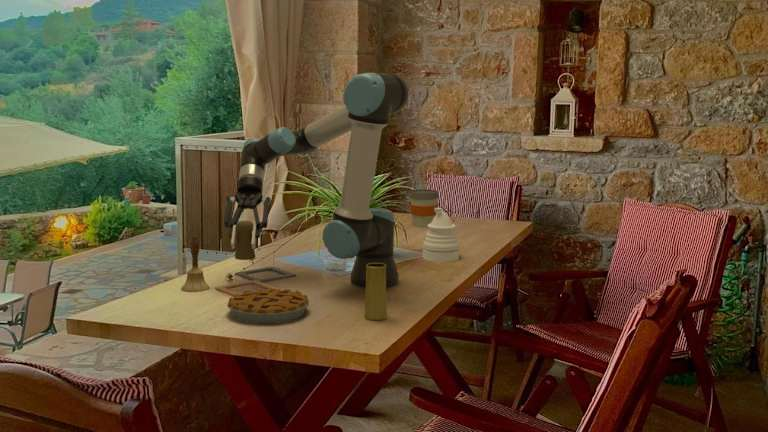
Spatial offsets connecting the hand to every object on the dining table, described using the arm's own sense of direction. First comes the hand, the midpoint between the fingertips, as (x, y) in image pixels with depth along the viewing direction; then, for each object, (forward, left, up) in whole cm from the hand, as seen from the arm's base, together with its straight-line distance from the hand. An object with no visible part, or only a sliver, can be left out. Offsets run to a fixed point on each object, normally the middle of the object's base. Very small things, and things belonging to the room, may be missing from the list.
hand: (242, 246), depth 234 cm
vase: (-43, -15, -14) cm, 47 cm away
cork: (+3, -2, -4) cm, 6 cm away
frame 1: (+2, -3, -14) cm, 14 cm away
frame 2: (+14, -17, -14) cm, 26 cm away
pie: (-22, +5, -14) cm, 27 cm away
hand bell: (+14, +8, -14) cm, 22 cm away
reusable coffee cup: (+48, -119, -14) cm, 129 cm away
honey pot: (-2, -80, -14) cm, 81 cm away
